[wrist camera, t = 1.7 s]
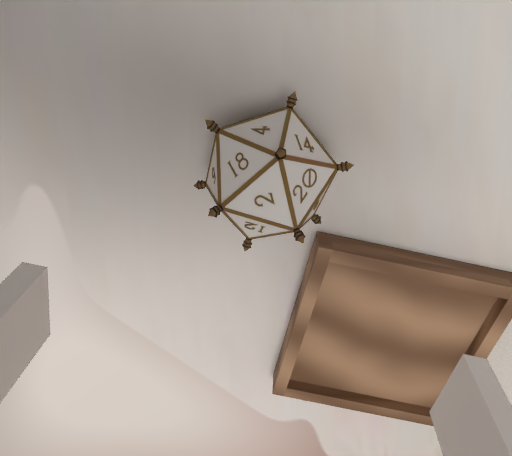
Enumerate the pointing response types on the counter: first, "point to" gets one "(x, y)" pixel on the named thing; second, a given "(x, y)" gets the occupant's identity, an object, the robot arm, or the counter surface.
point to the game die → (269, 174)
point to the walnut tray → (387, 327)
